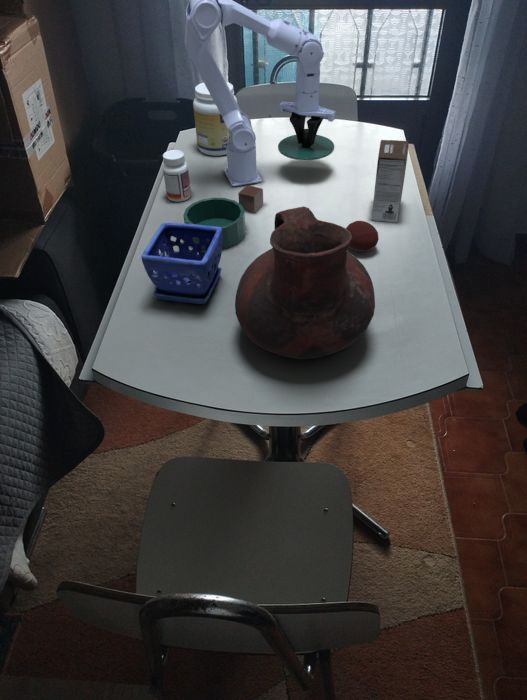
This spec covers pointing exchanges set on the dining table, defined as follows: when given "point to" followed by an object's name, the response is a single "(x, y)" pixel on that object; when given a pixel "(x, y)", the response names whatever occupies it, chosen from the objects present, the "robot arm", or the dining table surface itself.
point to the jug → (305, 290)
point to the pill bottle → (176, 176)
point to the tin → (218, 218)
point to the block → (251, 198)
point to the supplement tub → (210, 122)
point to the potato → (362, 236)
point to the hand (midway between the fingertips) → (306, 143)
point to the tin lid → (305, 147)
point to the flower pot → (184, 262)
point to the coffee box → (389, 180)
